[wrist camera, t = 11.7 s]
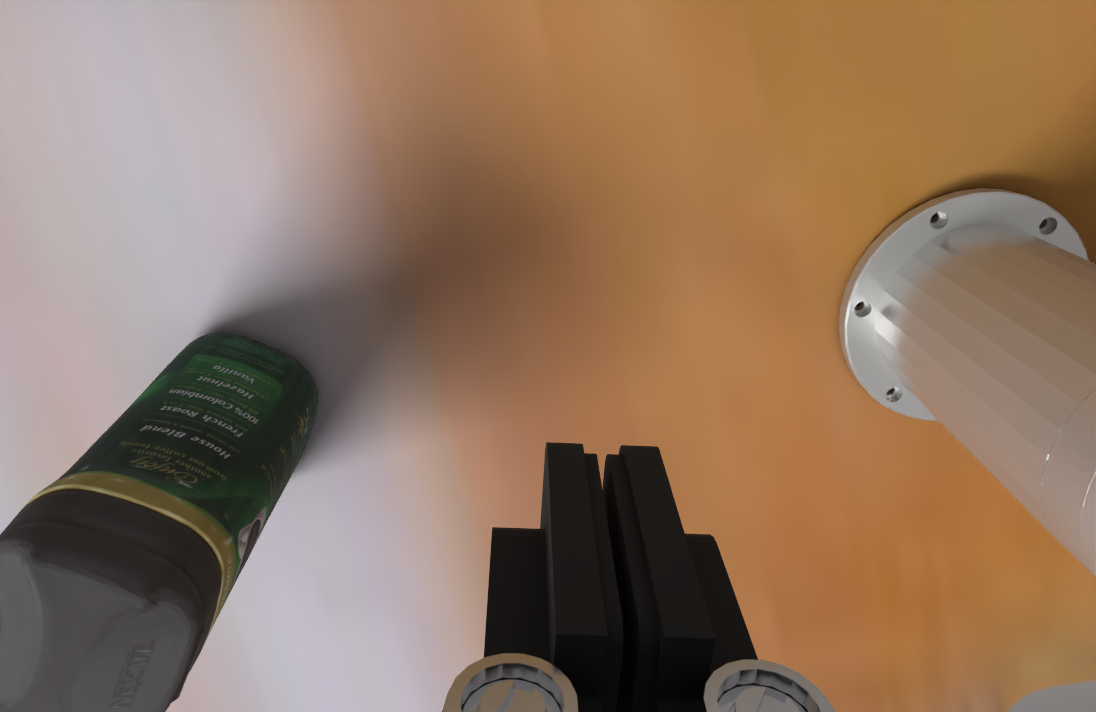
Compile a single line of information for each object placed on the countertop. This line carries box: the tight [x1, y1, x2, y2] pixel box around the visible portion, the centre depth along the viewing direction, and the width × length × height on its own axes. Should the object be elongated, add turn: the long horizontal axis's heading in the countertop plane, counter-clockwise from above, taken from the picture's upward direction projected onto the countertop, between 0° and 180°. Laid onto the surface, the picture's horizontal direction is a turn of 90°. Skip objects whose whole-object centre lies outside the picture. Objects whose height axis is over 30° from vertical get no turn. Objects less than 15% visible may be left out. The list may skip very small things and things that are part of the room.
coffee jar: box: [0, 333, 318, 712], centre depth 35 cm, size 10×8×19 cm
